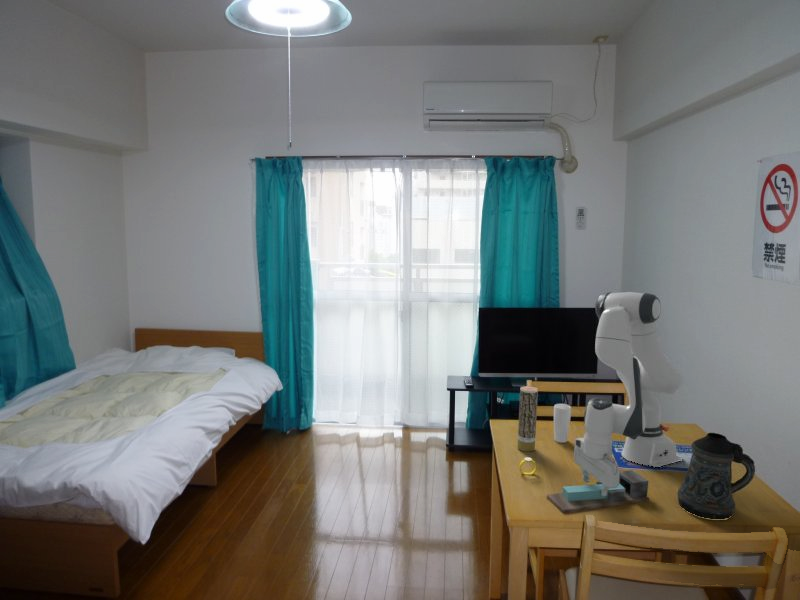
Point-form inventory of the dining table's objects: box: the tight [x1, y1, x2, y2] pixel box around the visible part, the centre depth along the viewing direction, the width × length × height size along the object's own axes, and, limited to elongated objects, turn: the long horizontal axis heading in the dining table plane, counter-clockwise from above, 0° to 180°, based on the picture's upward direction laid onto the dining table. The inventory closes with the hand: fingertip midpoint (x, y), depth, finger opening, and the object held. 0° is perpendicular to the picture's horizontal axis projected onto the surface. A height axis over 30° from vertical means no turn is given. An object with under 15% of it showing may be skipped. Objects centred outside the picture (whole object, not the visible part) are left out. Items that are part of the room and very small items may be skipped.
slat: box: [561, 484, 625, 501], centre depth 186 cm, size 20×4×3 cm, turn 99°
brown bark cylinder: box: [517, 385, 539, 453], centre depth 224 cm, size 7×7×25 cm
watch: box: [518, 456, 538, 476], centre depth 203 cm, size 6×3×6 cm, turn 89°
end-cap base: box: [546, 469, 650, 514], centre depth 186 cm, size 32×10×6 cm, turn 105°
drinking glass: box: [553, 403, 572, 444], centre depth 233 cm, size 7×7×15 cm
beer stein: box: [677, 432, 756, 519], centre depth 180 cm, size 16×19×25 cm
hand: (594, 488), depth 186 cm, fingers open, 8 cm apart
